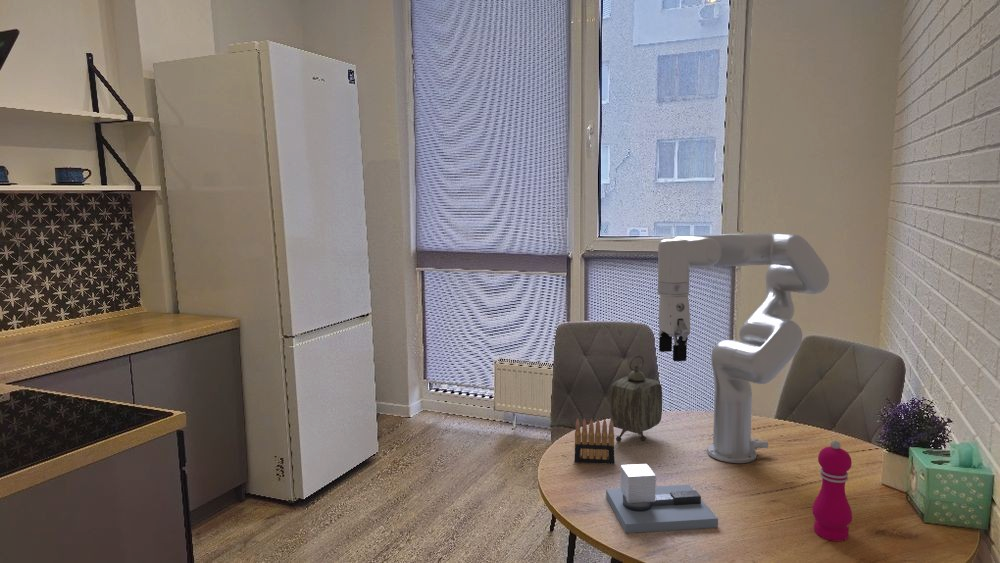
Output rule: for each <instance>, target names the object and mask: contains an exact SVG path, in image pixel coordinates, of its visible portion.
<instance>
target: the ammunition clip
mask: <svg viewBox="0 0 1000 563" xmlns="http://www.w3.org/2000/svg"><path fill="white" fill-rule="evenodd" d="M582 420H583V421H582V426H581V423H580V418H578V417H577V419H576V422H575V429H574V457H573V459H574V460H573V461H574V463H579V464H580V463H581V464H597V465H599V464H601V465H615V464H616V462H615V458H616V457H615V433H614V432H615V431H614V428H615V427H613V421H612V420H610V419H609V420H610V421H609V424H607V421H606V419H603V422H602V426H601V423H600V419H599V418H597V419H596V422H595V428H594V421H593V418H590V420H589V424H588V423H587V421H586V418H583V419H582ZM587 424H588V425H587ZM581 427H582V429H581ZM601 427H602V430H601Z"/></svg>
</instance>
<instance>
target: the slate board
mask: <svg viewBox="0 0 1000 563" xmlns="http://www.w3.org/2000/svg"><path fill="white" fill-rule="evenodd" d="M693 490H694V489H693V487H692V486H690V484H675V485H673V484H672V485H659V486H658V485H657V486H656V487H655V495H661V494H670V492H676V491H693ZM605 498H606V499H607V502H608V503H609V505H610V507H611V509H612V511H613V513H614V512H615V513H614V514H616V515H615V516H616V518H617V520H618V522H619V524H620V523H621V524H620V526H621V525H622V526H621V527H623V528H622V529H623V531H624V533H625V534H634V533H635V532H638V533H650V532H665V531H666V532H668V531H681V530H699V529H713V528H719V517H717V515H716V514H715V513H714V511H712V510H711V509H710V507H709V506H708V505H707V504H706V502H704V500H703V499H702V498H701V504H689V505H665V506H652V508H651V509H650V510H647V511H642V512H638V511H632V510H629V509H627V508H625V507H624V506H623V493H622V492H621V487H619V488H607V489H605Z"/></svg>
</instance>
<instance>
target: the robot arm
mask: <svg viewBox="0 0 1000 563" xmlns="http://www.w3.org/2000/svg"><path fill="white" fill-rule="evenodd" d="M657 248H658V250H657V251H658V252H657V253H658V254H657V256H658V257H657V258H658V259H657V295H658V296H659V303H658V328H659V332H658V336H659V338H658V339H659V341H658V342H659V345H658V349H659V350H658V351H659V352H660V353H665V352H667V353H669V352H670V353H671V352H672V362H673V361H674V362H686V361H687V353H688V352H687V349H688V341H689V337H688V336H689V335H690V334H691V312H690V301H689V295H690V268H691V267H693V268H694V267H695V268H696V267H697V268H710V267H712V266H715V265H720V266H726V267H727V266H729V267H745V266H746V267H747V266H763V265H767V266H768V265H769V266H768V267H767V270H766V272H765V285H766V286H765V289H766V290H765V292H766V293H765V297H764V300H763V301H762V302H761V304H760V305H759V306H758V307H757V309H755V310H754V312H752V314H751V315H750V316H749V317H748V318H747V319H746V320H745V321H744V322H743V324H742V325H741V327H740V329H739V334H738V335H739V336H738V337H739V339H740V340H737V339H736V340H735V339H723V340H721V341H719V342H717V343H716V344H715V345H714V347H713V349H712V350H711V356H710V358H711V367H712V372H713V378H714V380H713V381H714V393H713V394H714V396H713V397H714V399H713V430H712V431H713V433H712V434H713V435H712V440H713V441H712V443H709V445H707V447H706V452H707V454H708V455H709V456H710V457H712V458H713V459H715V460H717V461H721V462H725V463H732V464H746V463H751V462H753V461H755V460H756V459H757V451H756V450H758V449H768V447H769V442H768V441H767V440H759V438H757V437H755V438H752V412H753V411H752V410H753V408H752V407H753V406H752V405H753V392H752V391H753V390H752V386H751V383H754V384H757V385H765V384H768V383H770V382H772V381H773V380H774V379H775V378H776V377H777V376H778V375H779V373H781V372H782V370H784V368H785V367H786V366H787V364H789V362H790V361H791V360H793V358H794V356H795V355H797V353H798V351H799V349H800V348H801V345H802V342H803V331H802V328H801V327H800V325H799V324H798V323H796V322H795V321H793V320H792V319H793V317H794V315H795V305H794V303H793V302H794V301H793V299H792V298H793V297H792V293H791V292H793V293H798V294H799V293H800V294H806V295H819V294H821V293H823V292H824V291H826V289H827V288H828V286H829V283H830V273H829V270H828V267H827V266H826V264H825V263H824V261H823V260H822V259H821V258H820V256H819V255H818V253H817V252H816V250H815V249H814V248H813V246H812V245H811V244H810V243H809V242H808V240H806V239H805V238H804V237H803V236H801V235H799V234H795V233H778V232H777V233H776V232H775V233H774V232H761V233H755V232H754V233H727V234H726V233H725V234H712V235H711V234H710V235H709V234H708V235H705V234H703V235H701V234H700V235H678V236H675V237H673V238H664V239H661V240H660V241H659V243H658V247H657ZM673 342H674V343H673Z"/></svg>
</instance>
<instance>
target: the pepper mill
mask: <svg viewBox="0 0 1000 563" xmlns="http://www.w3.org/2000/svg"><path fill="white" fill-rule="evenodd" d="M817 456H818V457H817V461H818V463H819V466H820V467H821V468H820V469H819V470H820V472H819V473H820V474H819V475H820V477H821V482H822V483H821V487H820V491H819V492H818V495H817V496H816V497H815V500H814V501H813V504H812V510H811V511H812V515H813V517H814V518H815V519H816V520H815V521H814V523H813V524H814V525H813V530H814V532H815V534H816V535H818V536H819V537H821V538H822V539H826V540H828V541H831V542H832V541H834V542H842V541H843V542H844V541H846V540H847V539H849V532H850V530H849V525H850V524H851V523H852V520H853V512H852V508H851V506H850V504H849V501H848V498H847V494H846V483H847V482H848V480H849V479H848V478H849V477H848V476H849V473H848V471H849V470H851V467H852V458H851V456H850V454H849V453H848V451H846V450H845V449H843V448H842V447H841V443H840V442H839V441H838V440H834V439H833V440H832V441H831V442H830V446H826V447H824V448H822V449H821V450H820V451H819V453H818V455H817Z"/></svg>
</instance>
